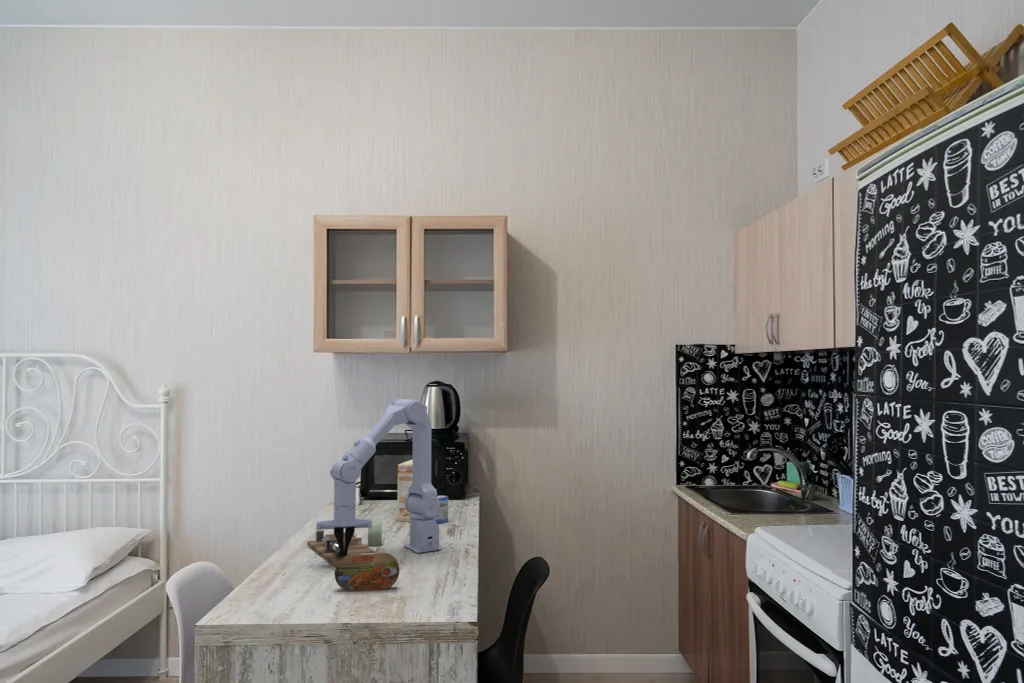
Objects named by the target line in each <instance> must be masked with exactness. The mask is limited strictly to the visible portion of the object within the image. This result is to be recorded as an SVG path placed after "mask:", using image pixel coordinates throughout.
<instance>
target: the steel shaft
mask: <svg viewBox="0 0 1024 683" xmlns="http://www.w3.org/2000/svg"><path fill="white" fill-rule="evenodd" d="M327 539H329V538H327V537H326V536H325V535H324V537H323V538H322V541H323V542H324V543H325V540H327ZM330 547H331V548H333V549H334V550H335V551H336V554H338V555H339V556H341V551H340V547H339V545H338V544H336V543H335V542H332V543H330ZM344 550H345V547H344Z"/></svg>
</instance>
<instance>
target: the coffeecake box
mask: <svg viewBox="0 0 1024 683" xmlns="http://www.w3.org/2000/svg"><path fill="white" fill-rule="evenodd" d="M412 483H413V458H412V459H410V460H407V461H404V462H401V463H398V464H397V495H396V496H397V497H396V498H397V501H396V503H397V504H396V506H397V507H396V508H397V510H396V513H397V514H396V521H397V522H409V523H410V516H409V512H408V511H407V509H406V507H405V501H406V498H407V495H408V489H409V487H410V486H411V485H412Z"/></svg>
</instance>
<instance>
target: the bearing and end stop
mask: <svg viewBox="0 0 1024 683" xmlns="http://www.w3.org/2000/svg"><path fill="white" fill-rule="evenodd" d="M324 536H325V531H324V529H322V530H316V531H315V541H316V542H322V538H323V537H324ZM332 542H337V544H338V541H337V539H336V538H335V539H327V540H325V552H326V553H330V543H332ZM338 545H339V544H338Z"/></svg>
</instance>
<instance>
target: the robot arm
mask: <svg viewBox="0 0 1024 683" xmlns="http://www.w3.org/2000/svg"><path fill="white" fill-rule="evenodd" d="M403 424H405V426H407V427H408V428H409V429H410V430H412V459H413V483H412V485H411V486H410V487H409V489H408V495H407V498H406V501H405V507H406V509H407V511H408V512H409V516H410V522H409V543H405V544H404V547H406V548H408V549H409V550H411V551H413V552H414V553H416V554H418V553H419V554H420V553H426V552H432V551H433V552H435V551H441V550H442V549H443V547H441V546H440V526H439V524H437V523H436V522H435V517H436V514H437V513H438V511H439V507H440V504H439V500H438V498H437V496H438V491H437V489H436V488H435V487H434V486H433V484H432V422H431V418H430V417H429V414H428V407H427V405H426V404H425V403H423V401H421V400H420V399H407V398H402V397H401V398H400V397H399V398H396V399H394V400H393V401H392V402H391V404H390V405H388V406H387V407H386V409H385V412H384V414H383V415H382V416H381V418H380V419H379V421H378V422H377V423H376V424H375V425H374V427H373V428H372V430H371V431H370V432H369V434H367V435H366V437H361V438H359V439H356V440H354V441H353V445H352V447H351V448H350V449H349V450H348V451H347V452H346V453H344V454H343V455H342V458H341V459H339V460H337V461H335V462H334V463H333V465H332V468H331V469H330V470H329V473H330V476H331V478H332V479H333V487H334V488H333V519H329V520H322V521H320V520H319V521H316V523H315V524H316V525H315V526H316V528H315V530H316V531H321V530H333V534H334V535H335V537H336V539H337V541H338V544H339V547H340V551H341V557H345V556H347V551H348V547H349V544H350V541H351V539H352V536H353V534H354V533H355V531H356V529H365V528H367V529H368V528H372V523H373V519H365V518H364V519H363V518H361V519H360V518H358V519H357V518H356V508H357V507H356V503H357V502H356V500H357V499H356V496H357V489H356V488H357V480H358V479H359V478H360V477H361V472H362V469H363V467H364V466H365V465H366V464H367V463H368V461H369V460H370V459H371V458H372V456H374V454H375V453H376V449H377V448H376V447H377V444H378V443H380V441H381V440H382V439H383V438H384V437H385V436H386V435H387V434H388V433H389V432H391V430H392V429H393V428H394V427H395V426H399V425H403ZM344 532H345V550H344Z"/></svg>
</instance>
